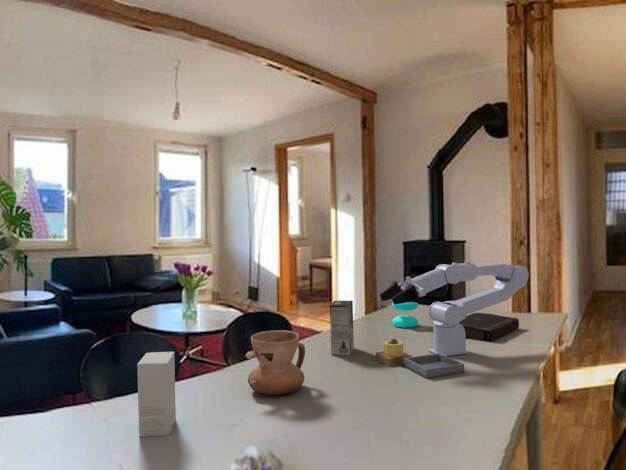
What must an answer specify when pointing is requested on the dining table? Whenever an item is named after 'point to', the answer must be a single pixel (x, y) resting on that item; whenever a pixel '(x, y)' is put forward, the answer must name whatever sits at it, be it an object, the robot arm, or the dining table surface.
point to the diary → (488, 326)
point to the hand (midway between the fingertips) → (386, 299)
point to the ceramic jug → (276, 362)
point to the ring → (393, 349)
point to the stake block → (391, 360)
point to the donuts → (405, 320)
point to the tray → (433, 365)
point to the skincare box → (156, 394)
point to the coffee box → (341, 327)
